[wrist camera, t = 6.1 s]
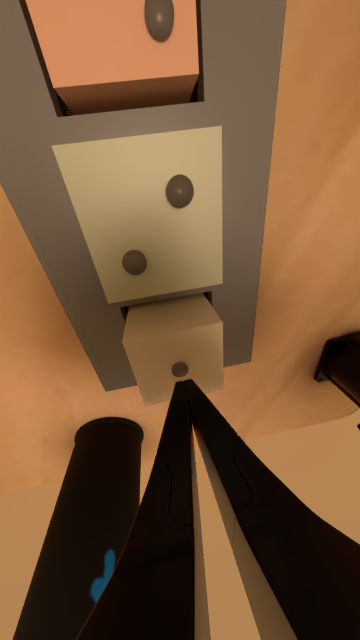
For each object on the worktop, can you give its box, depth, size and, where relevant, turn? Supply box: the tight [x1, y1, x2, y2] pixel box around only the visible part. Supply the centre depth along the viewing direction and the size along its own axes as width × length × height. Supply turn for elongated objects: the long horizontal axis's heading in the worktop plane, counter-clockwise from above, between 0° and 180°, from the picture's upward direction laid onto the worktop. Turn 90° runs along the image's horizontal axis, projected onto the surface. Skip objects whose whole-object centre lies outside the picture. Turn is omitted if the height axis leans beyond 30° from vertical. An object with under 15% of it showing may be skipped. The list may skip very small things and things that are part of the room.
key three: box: [26, 0, 199, 115], centre depth 7 cm, size 5×5×4 cm
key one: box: [122, 293, 223, 405], centre depth 12 cm, size 5×5×4 cm
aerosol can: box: [13, 418, 144, 640], centre depth 15 cm, size 8×8×20 cm
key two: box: [52, 126, 223, 304], centre depth 8 cm, size 5×5×4 cm
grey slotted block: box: [0, 0, 286, 391], centre depth 11 cm, size 22×12×4 cm, turn 7°
